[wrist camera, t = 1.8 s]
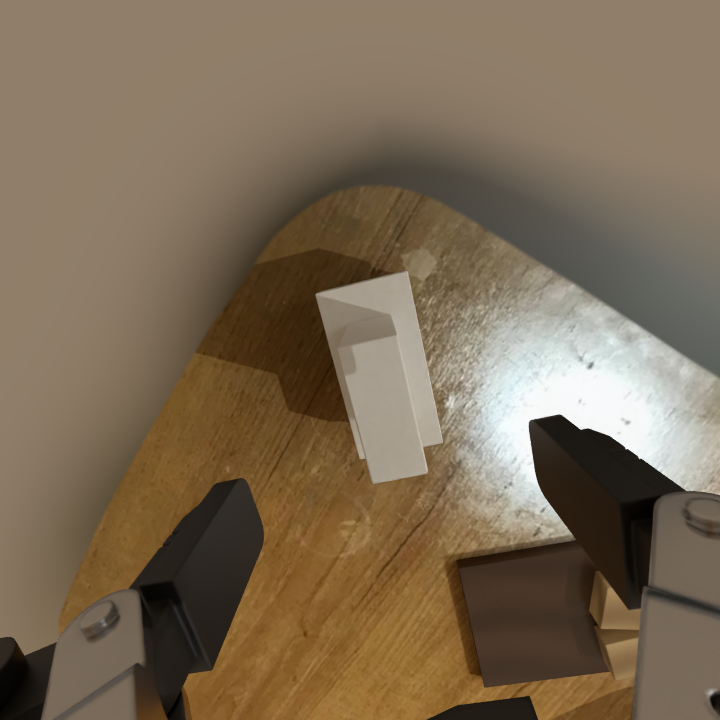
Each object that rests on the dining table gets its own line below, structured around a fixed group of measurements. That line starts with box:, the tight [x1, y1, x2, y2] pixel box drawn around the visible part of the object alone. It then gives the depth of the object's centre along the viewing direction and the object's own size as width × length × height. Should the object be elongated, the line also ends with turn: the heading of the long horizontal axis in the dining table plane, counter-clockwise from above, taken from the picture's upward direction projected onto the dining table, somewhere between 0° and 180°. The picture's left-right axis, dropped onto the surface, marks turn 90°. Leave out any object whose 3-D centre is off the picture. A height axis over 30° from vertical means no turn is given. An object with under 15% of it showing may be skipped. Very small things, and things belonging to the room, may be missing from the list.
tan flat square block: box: [589, 571, 641, 630], centre depth 26 cm, size 4×4×2 cm
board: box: [457, 541, 610, 688], centre depth 28 cm, size 12×16×1 cm
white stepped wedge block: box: [315, 271, 443, 484], centre depth 19 cm, size 5×10×10 cm, turn 14°
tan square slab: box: [594, 625, 639, 681], centre depth 27 cm, size 4×4×2 cm
